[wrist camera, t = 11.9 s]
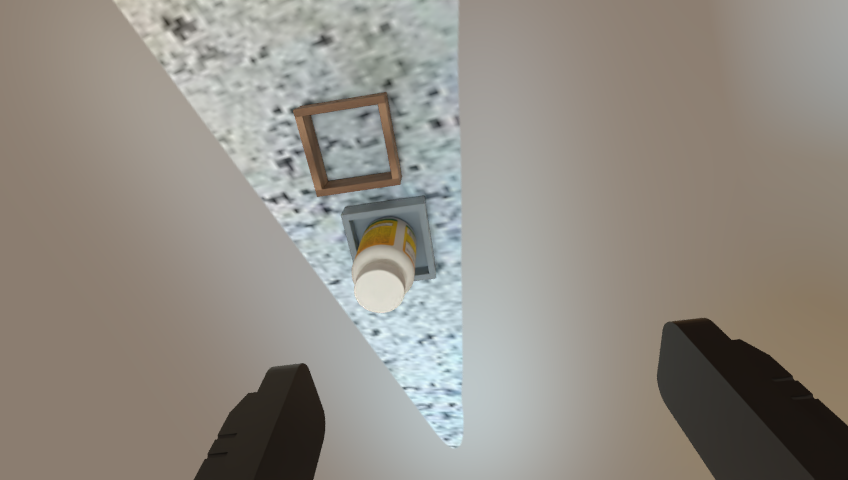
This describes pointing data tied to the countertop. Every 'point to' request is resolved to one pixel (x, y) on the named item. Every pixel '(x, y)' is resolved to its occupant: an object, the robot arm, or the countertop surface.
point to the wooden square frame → (314, 154)
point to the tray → (402, 209)
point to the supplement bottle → (384, 264)
